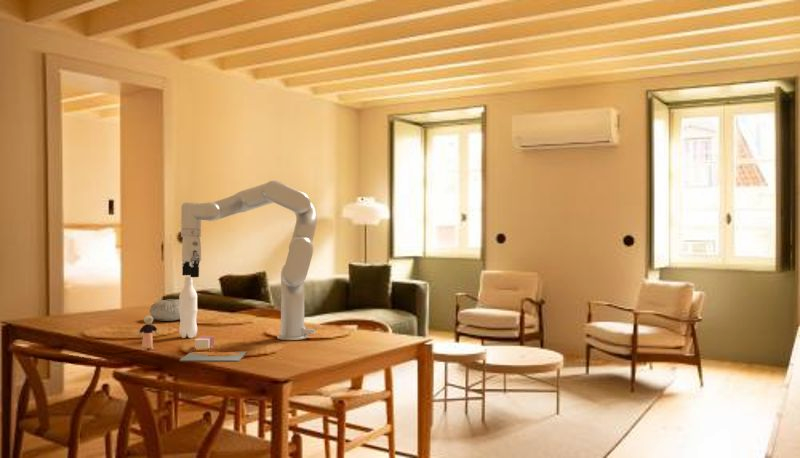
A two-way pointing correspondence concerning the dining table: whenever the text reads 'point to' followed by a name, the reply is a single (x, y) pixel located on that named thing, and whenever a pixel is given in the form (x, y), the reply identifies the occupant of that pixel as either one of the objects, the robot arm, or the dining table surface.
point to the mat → (212, 357)
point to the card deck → (204, 341)
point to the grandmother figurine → (147, 333)
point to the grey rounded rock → (166, 310)
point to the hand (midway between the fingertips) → (190, 276)
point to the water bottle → (188, 310)
